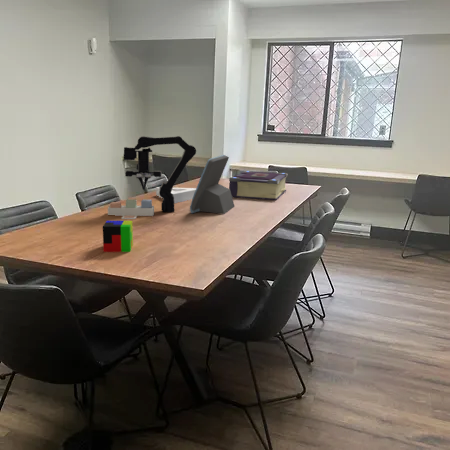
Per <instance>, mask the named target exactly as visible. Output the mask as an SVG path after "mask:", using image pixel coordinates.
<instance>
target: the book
mask: <svg viewBox="0 0 450 450" xmlns="http://www.w3.org/2000/svg"><path fill="white" fill-rule="evenodd" d="M287 177H288V173H286V172H277V173H275V172H263V171H262V172H261V171H250V170H245V171H242V172H240V173H239V174H237V175H233V176H231V177H229V178H228V181H229V184H228V185H229V187H228V189H230V191H231V195H232V198H239V199H252V200H266V201H267V200H268V201H277V200H279V199H280V197H281V196H283V194H285V193H286V192H287V189H286V179H287Z"/></svg>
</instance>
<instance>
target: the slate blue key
mask: <svg viewBox="0 0 450 450" xmlns="http://www.w3.org/2000/svg"><path fill="white" fill-rule="evenodd" d="M140 206H141V208H152V206H153V199H142V200H141V201H140Z"/></svg>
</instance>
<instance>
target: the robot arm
mask: <svg viewBox="0 0 450 450" xmlns="http://www.w3.org/2000/svg"><path fill="white" fill-rule="evenodd" d="M158 145H159V146H161V145H179V147H181V148H182V149H183V153H182V156H181V158H180V160H179V162H177V163H178V164H177V165H176V167H175V168H174V170H173V172H172V173H171V175H170V176H169V178H168V179H167V181H162V183H161V186H158V187H159V189H160V190H159V193H160V196H161V197H162V198H163V199H162V198H161V199H162V201H161V204H160V205H161V212H162V213H175V203H174V196H173V194H172V193H171V191H172V188H174V185H175V183H176V181H177V180H178V178H179V176H181V174H182V173H183V171H184V169H185V167H186V166H187V164H188V163H189V162H190V161H191V160H192V159H193V158H194V156H195V155H196V154H197V149H196V147H195V146H193V145H191V144H189V143H187V142H186V141H185V139H183V138H182V136H180V135H179V136H178V135H177V136H163V137H151V136H145V135H143V136H140V137H139V138H138V140H137V144H136V145H135V146H134V147H127V146H125V147H123V161H135V159H137V164H136V171H135V170H134V169H128V170H126V171H125V172H124V173H125V176H124V177H132V176H136V179H138V181H139V182H140V185H141V188H142V190H144V191H145V190H146V187H147V183H148V181H149V179H151V178H152V176H154V177H155V178H160V177H161V178H162V170H153V171H151V170H150V168H151V166H150V153H152V152H153V150H152V148H150V147H153V146H158ZM140 149H141V150H140ZM144 176H145V177H144Z"/></svg>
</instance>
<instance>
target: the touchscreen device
mask: <svg viewBox="0 0 450 450" xmlns="http://www.w3.org/2000/svg"><path fill="white" fill-rule="evenodd" d="M229 158H230V156H228V155H226V154H221V155H218V156H214V157H211V158H209V159H208V160H207V161H206V164H205V166H204V169H203V171H202V173H201V175H200V178H199V181H198V183H197V186H196V190H195V193H194V196H193V199H192V200H191V203H190V205H189V211H190V214H194V213H197V212H198V213H199V212H203V213H204V212H205V213H212V214H213V213H214V214H220V215H225V214H227V213H228V212H229V211H230V210H232V209H234V208H235V203H234V199H233V198H234V197H232V195H231V191H230V189H229V187H225V186H224V185H222V184H220V181H221V177H222V175H223V174H224V172H225V168H226V166H227V164H228V162H229Z"/></svg>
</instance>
